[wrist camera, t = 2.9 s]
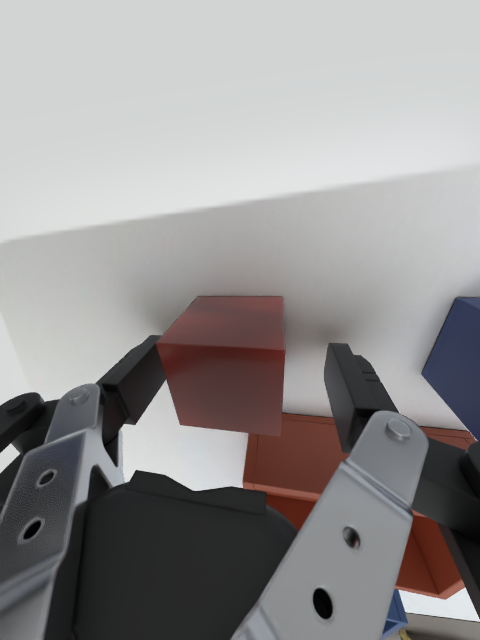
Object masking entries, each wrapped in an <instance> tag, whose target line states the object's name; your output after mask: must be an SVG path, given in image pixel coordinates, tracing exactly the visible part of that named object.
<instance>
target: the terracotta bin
mask: <svg viewBox="0 0 480 640" xmlns="http://www.w3.org/2000/svg"><path fill="white" fill-rule="evenodd" d="M420 428H421V429H422V430H423V431H424V433H425V435H426V436H428V437H430V438H432V439H435V440H438V441H440V442H443V443H446V444H449V445H452V446H455V447H458V448H461V449H464V450H467V449H468V447H469V446H470V445H471V444H472V443H475V442H477V441H476V440H475V438H474V437H473V436H472V435H471V433H470V432H468V431H459V430H449V429H438V428H428V427H420ZM348 456H349V453H342V449H341V445H340V441H339V437H338V433H337V429H336V425H335V421H334V418H326V417H315V416H305V415H295V414H285V413H282V422H281V436H280V437H279V436H270V435H262V434H253V433H249V436H248V444H247V451H246V459H245V466H244V474H243V488H244V489H250V490H256V491H261V492H266V493H267V504H268V505H269V506H271V507H273V508H275V509H276V510H278V511H279V512H280V513H282V514H283V515H284V516H285V517H286V518H287V519H288V520H290V521H291V522H292V523H293V525H294V526H295V527H296V528H297V529H298V530H299V531H300V529H301V527H302V526H303V524H304V522H305V521H306V519H307V517H308V516H309V514H310V512H311V511H312V509H313V507H314V506H315V504H316V502H317V501H318V499H319V497H320V496H321V494H322V492H323V491H324V489H325V487H326V486H327V484H328V482H329V481H330V479H331V477H332V476H333V474H334V472H335V471H336V469H337V467H338V466H339V464H340V463H341V462H342V461H343V460H344V461H345V460H346V459H347V457H348ZM411 511H413V521H412V526H411V529H410V533H409V537H408V541H407V544H406V548H405V552H404V555H403V559H402V563H401V566H400V570H399V574H398V578H397V581H396V585H395V589H399V590H403V591H408V592H412V593H417V594H422V595H426V596H431V597H435V598H436V597H437V598H440V599H445V600H446V599H447V598H449V597H450V596H452V595H454V594H455V593H457V592H458V591H460V590H461V589H463V588H464V587H465V585H464V583H463V581H462V578H461V576H460V574H459V572H458V569H457V567H456V565H455V563H454V560H453V558H452V556H451V554H450V551H449V549H448V547H447V545H446V543H445V540H444V538H443V536H442V534H441V531H440V529H439V527H438V525H437V522H436V521H434V520H432V519H430V518H428V517H426V516H424V515H422V514H420V513H418V512H416V511H414V510H412V509H411Z"/></svg>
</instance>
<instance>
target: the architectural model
mask: <svg viewBox="0 0 480 640" xmlns="http://www.w3.org/2000/svg"><path fill="white" fill-rule="evenodd" d="M405 614H406V617H407V620H408V624H407V625H406V626H404V627H402V628H401V629H399V630H398V631H396V632H395V633H393V634H392V635H390V636H388V637H387V638H385V639H384V640H480V623H478V622H471V621H463V620H455V619H447V618H440V617H432V616H424V615H416V614H409V613H405Z"/></svg>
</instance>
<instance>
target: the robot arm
mask: <svg viewBox="0 0 480 640" xmlns="http://www.w3.org/2000/svg"><path fill="white" fill-rule="evenodd" d="M162 336H163V335H150V336H149V337H148V338H147V339H146V340H145V341H144V342H143V343H142V344H140V345H138V346H137V347H135V348H133V349H131V350H130V351H129V352H128V353H127V354H126V355H125V356H124V358H122V359H121V360H120V361H119V362H118V363H117V364H115V365H114V366H113V367H112V368H111V369H110V370H109V371H108V372H107V373H106V374H105V375H104V376H103V377H102V378H101V379H100V380H98V381H97V382H96V383H95V384H85V385H81V386H79V387H76V388H74V389H72V390H71V391H69V392H68V393H66V394H65V395H64V396H63V397H62V398H61V399H58V400H52V401H46V402H44V400H43V399H42V397H41V396H40V395H39V394H38V393H35V392H31V393H26V394H22V395H19V396H17V397H15V398H13V399H10V400H9V401H7V402H5V403H4V404H2V405H1V406H0V453H1V452H2V451H3V450H4V449H5V448H6V447H7V446H8V445H9V444H10V443H11V444H12V445H13V446H14V447H15V448H16V449H17V450H18V451H19V452H20V455H19V456H18V457H17V458H16V459H14V461H12V463H10V464H9V465H8V466H7V467H6V468H5V469H4V470H3V471H2V472H1V473H0V640H381V637H382V633H383V629H384V626H385V622H386V618H387V615H388V611H389V607H390V603H391V600H392V596H393V592H394V589H395V585H396V581H397V578H398V574H399V570H400V566H401V563H402V559H403V555H404V552H405V548H406V544H407V541H408V537H409V533H410V529H411V526H412V521H413V511H411V509H412V510H414V511H416V512H418V513H420V514H422V515H424V516H426V517H428V518H430V519H432V520H434V521H436V522H437V525H438V527H439V529H440V531H441V534H442V536H443V538H444V540H445V543H446V545H447V547H448V549H449V551H450V554H451V556H452V558H453V560H454V563H455V565H456V567H457V569H458V572H459V574H460V576H461V578H462V581H463V583H464V585H465V587H466V589H467V592H468V594H469V596H470V598H471V601H472V603H473V605H474V607H475V610H476V612H477V614H478V616H479V619H480V442H475V443H472V444H471V445H470V446H469V447H468V449H467V450H464V449H461V448H458V447H455V446H452V445H449V444H446V443H443V442H440V441H438V440H435V439H432V438H430V437H428V436H426V435H425V433H424V431H423V430H422V429H421V428H420V427H419V426H418V425H417V424H416V423H415V422H413V421H412V420H410V419H409V418H407V417H405V416H404V415H401V414H399V412H398V410H397V408H396V407H395V405H394V403H393V401H392V400H391V398H390V396H389V395H388V393H387V391H386V389H385V388H384V386H383V384H382V383H381V382H380V379H379V377H378V376H377V374H376V372H375V370H374V369H373V367H372V365H371V364H370V363H369V362H368V361H367V360H366V359H364V358H363V357H362V356H361V355H353V353H352V351H351V349H350V347H349V345H348V344H347V343H329V344H328V348H327V355H326V361H325V367H324V381H325V386H326V390H327V394H328V398H329V402H330V406H331V410H332V413H333V417H334V421H335V425H336V429H337V433H338V437H339V441H340V445H341V449H342V453H349V456H348V457H347V459H346V460H345V461H344V460H343V461H342V462H341V463H340V464H339V466H338V467H337V469H336V471H335V472H334V474H333V476H332V477H331V479H330V481H329V482H328V484H327V486H326V487H325V489H324V491H323V492H322V494H321V496H320V497H319V499H318V501H317V502H316V504H315V506H314V507H313V509H312V511H311V512H310V514H309V516H308V517H307V519H306V521H305V522H304V524H303V526H302V527H301V529H300V531H299V530H298V529H297V528H296V527H295V526H294V525H293V523H292V522H291V521H290V520H288V519H287V518H286V517H285V516H284V515H283V514H282V513H280V512H279V511H278V510H276V509H275V508H273V507H271V506H269V505H268V504H267V493H266V492H261V491H256V490H250V489H244V488H238V487H232V486H231V487H223V488H216V489H209V490H202V491H193V490H190V489H189V488H187V487H185V486H183V485H182V484H180V483H178V482H176V481H175V480H173V479H171V478H170V477H168V476H166V475H162V474H156V473H150V472H144V471H139V470H136V471H135V473H134V474H133V476H132V478H131V480H130V482H126V483H125V481H124V477H123V453H122V431H121V427H122V426H123V424H131V425H136V423H137V422H138V420H139V419H140V417H141V416H142V414H143V413H144V411H145V410H146V408H147V407H148V405H149V404H150V402H151V401H152V399H153V398H154V396H155V395H156V393H157V392H158V390H159V389H160V387H161V386H162V384H163V383H164V381H165V380H166V376H165V373H164V369H163V366H162V363H161V359H160V356H159V352H158V349H157V346H156V342H157V341H158V340H159V339H160V338H161V337H162Z"/></svg>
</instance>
